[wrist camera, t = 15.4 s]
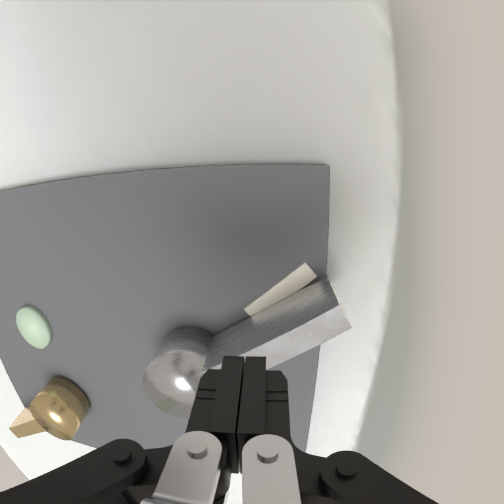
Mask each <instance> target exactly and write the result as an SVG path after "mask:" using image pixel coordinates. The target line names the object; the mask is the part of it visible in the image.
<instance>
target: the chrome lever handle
mask: <svg viewBox="0 0 504 504" xmlns="http://www.w3.org/2000/svg"><path fill="white" fill-rule="evenodd" d="M350 328H352V327H351V325H350V322H349V320H348V317H347V315H346V313H345V310H344V308H343V306H342V303H341V301H340V298H339V296H338V294H337V292H336V291H335V289H334V287H333V285H332V283H331V282H330V280H329V278H328V276H325V277H323V278H322V279H320V280H318V281H316V282H314V283H313V284H311V285H309V286H307V287H305V288H304V289H302V290H300V291H298V292H296V293H294V294H293V295H291V296H289V297H287V298H285V299H283V300H281V301H280V302H278V303H276V304H274V305H272V306H270V307H268V308H266V309H264V310H263V311H261V312H259V313H257V314H255V315H253V316H251V317H249V318H247V319H245V320H243V321H241V322H239V323H237V324H235V325H233V326H231V327H229V328H227V329H225V330H223V331H221V332H219V333H217V334H215V335H213V336H212V335H211V334H209V333H207V332H205V331H203V330H200V329H196V328H178V329H175V330H173V331H171V332H169V333H168V334H167V335H166V336H165V337H164V338H163V340H162V342H161V344H160V345H159V347H158V349H157V351H156V353H155V355H154V356H153V358H152V360H151V362H150V364H149V366H148V368H147V370H146V371H145V373H144V375H143V378H142V386H143V390H144V392H145V394H146V396H147V398H148V399H149V400H150V401H151V402H152V403H153V404H154V405H155V406H156V407H157V408H159V409H160V410H162V411H163V412H165V413H167V414H169V415H172V416H175V417H178V418H183V419H189V417H190V414H191V410H192V406H193V403H194V399H195V395H196V392H197V388H198V385H199V381H200V378H201V377H202V376H203V374H204V373H205V372H206V371H207V370H208V369H221V366H222V361H223V357H224V356H244V357H245V358H246V356H266V370H267V369H269V368H271V367H273V366H276V365H278V364H280V363H282V362H284V361H286V360H289V359H291V358H293V357H295V356H297V355H299V354H301V353H303V352H305V351H307V350H309V349H312V348H314V347H316V346H318V345H320V344H322V343H324V342H325V341H327V340H329V339H331V338H333V337H335V336H337V335H339V334H341V333H343V332H345V331H347V330H348V329H350Z"/></svg>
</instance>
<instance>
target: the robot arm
mask: <svg viewBox="0 0 504 504" xmlns="http://www.w3.org/2000/svg"><path fill="white" fill-rule="evenodd" d="M239 464H240V472H241V474H242V496H243V504H438V503H437V502H435V501H433V500H431V499H430V498H428V497H426V496H425V495H423V494H421V493H420V492H418V491H417V490H415V489H413V488H411V487H410V486H408V485H407V484H405V483H404V482H402V481H400V480H399V479H397V478H396V477H394V476H393V475H391V474H390V473H388V472H387V471H385V470H384V469H382V468H381V467H379V466H378V465H376V464H375V463H373V462H372V461H370V460H369V459H367V458H366V457H365V456H363V455H361V454H360V453H357V452H354V451H339V452H336V453H333V454H331V455H330V456H328V457H327V458H325V457H320V456H315V455H310V454H307V453H305V452H303V451H301V450H300V449H298V448H297V447H296V446H295V445H294V443H293V441H292V439H291V434H290V415H289V397H288V381H287V379H286V377H285V376H284V374H283V373H282V371H281V370H266V356H246V358H245V357H244V356H224V357H223V361H222V366H221V369H208V370H207V371H206V372H205V373H204V374H203V376H202V377H201V378H200V381H199V385H198V388H197V392H196V395H195V399H194V403H193V406H192V410H191V414H190V417H189V421H188V425H187V428H186V431H185V434H183V435H181V436H180V437H179V438H178V439H177V440H176V441H175V442H174V444H172V445H170V446H167V447H162V448H153V449H143V447H142V446H141V445H140V444H139V443H137V442H136V441H134V440H131V439H116V440H113V441H111V442H109V443H107V444H105V445H103V446H101V447H99V448H97V449H95V450H93V451H91V452H89V453H88V454H86V455H84V456H82V457H80V458H77V459H75V460H73V461H71V462H69V463H67V464H65V465H63V466H61V467H59V468H57V469H54V470H52V471H50V472H48V473H46V474H43V475H41V476H39V477H37V478H34V479H32V480H30V481H27V482H25V483H23V484H20V485H18V486H15V487H13V488H10V489H8V490H5V491H3V492H0V504H226V502H227V498H228V493H229V486H230V477H231V473H237V474H239Z"/></svg>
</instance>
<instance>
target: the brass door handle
mask: <svg viewBox="0 0 504 504" xmlns="http://www.w3.org/2000/svg"><path fill="white" fill-rule="evenodd" d="M89 410H90V404H89V401H88V399H87V398H86V396H85V395H84V393H83V392H82V391H81V390H80V389H79V388H78V387H77V386H75V385H74V384H73V383H71V382H70V381H68V380H66V379H64V378H61V377H52V378H51V379H50V380H49V381H48V382H47V384H46V385H45V386H44V387H43V388H42V390H41V391H40V392H39V393H38V395H37V396H36V397H35V398H34V400H33V401H32V402H31V403H30V405H29V407H27V408H24V410H23V411H22V412H21V413H20V415H19V416H18V417H17V418H16V420H15V421H14V422H13V424H12V425H11V426H10V427H9V429H10V430H11V431H12V432H13V433H14V434H15V435H16V436H17V437H18V438H21V437H25V436H29V435H33V434H36V433H40V432H44V431H47V432H49V433H50V434H52V435H53V436H55V437H57V438H59V439H62V440H71V439H72V438H73V436H74V435H75V433H76V431H77V430H78V428H79V427H80V425H81V423H82V422H83V420H84V418H85V417H86V415H87V414H88V412H89Z"/></svg>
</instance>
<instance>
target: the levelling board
mask: <svg viewBox="0 0 504 504" xmlns="http://www.w3.org/2000/svg"><path fill="white" fill-rule="evenodd" d="M329 189H330V166H329V165H316V164H247V165H216V166H196V167H179V168H165V169H153V170H141V171H131V172H121V173H112V174H103V175H95V176H87V177H80V178H73V179H66V180H59V181H53V182H47V183H41V184H35V185H29V186H24V187H18V188H13V189H8V190H3V191H0V358H1V361H2V363H3V365H4V367H5V369H6V372H7V374H8V376H9V378H10V380H11V382H12V384H13V386H14V388H15V390H16V392H17V394H18V396H19V398H20V399H21V401H22V403H23V405H24V407H25V408H27V407H29V405H30V403H31V402H32V401H33V400H34V398H35V397H36V396H37V395H38V393H39V392H40V391H41V390H42V388H43V387H44V386H45V385H46V384H47V382H48V381H49V380H50V379H51V378H52V377H61V378H64V379H66V380H68V381H70V382H71V383H73V384H74V385H75V386H77V387H78V388H79V389H80V390H81V391H82V392H83V393H84V395H85V396H86V398H87V399H88V401H89V404H90V410H89V412H88V414H87V415H86V417H85V418H84V420H83V422H82V423H81V425H80V427H79V428H78V430H77V431H76V433H75V435H74V436H73V438H72V439H71V440H72V441H75V442H78V443H81V444H84V445H88V446H91V447H94V448H99V447H101V446H103V445H105V444H107V443H109V442H111V441H113V440H116V439H131V440H134V441H136V442H137V443H139V444H140V445H141V446H142V447H143V449H153V448H162V447H167V446H170V445H172V444H174V442H175V441H176V440H177V439H178V438H179V437H180V436H181V435H183V434H185V431H186V428H187V425H188V421H189V419H183V418H178V417H175V416H172V415H169V414H167V413H165V412H163V411H162V410H160V409H159V408H157V407H156V406H155V405H154V404H153V403H152V402H151V401H150V400H149V399H148V398H147V396H146V394H145V392H144V390H143V386H142V378H143V375H144V373H145V371H146V370H147V368H148V366H149V364H150V362H151V360H152V358H153V356H154V355H155V353H156V351H157V349H158V347H159V345H160V344H161V342H162V340H163V338H164V337H165V336H166V335H167V334H168V333H169V332H171V331H173V330H175V329H178V328H196V329H200V330H203V331H205V332H207V333H209V334H211V335H212V336H213V335H215V334H217V333H219V332H221V331H223V330H225V329H227V328H229V327H231V326H233V325H235V324H237V323H239V322H241V321H243V320H245V319H247V318H249V317H251V316H253V315H255V314H257V313H259V312H261V311H263V310H264V309H266V308H268V307H270V306H272V305H274V304H276V303H278V302H280V301H281V300H283V299H285V298H287V297H289V296H291V295H293V294H294V293H296V292H298V291H300V290H302V289H304V288H305V287H307V286H309V285H311V284H313V283H314V282H316V281H318V280H320V279H322V278H323V277H325V276H326V266H327V248H328V226H329ZM319 350H320V345H318V346H316V347H314V348H312V349H309V350H307V351H305V352H303V353H301V354H299V355H297V356H295V357H293V358H291V359H289V360H286V361H284V362H282V363H280V364H278V365H276V366H273V367H271V368H269V369H267V370H281V371H282V373H283V374H284V376H285V377H286V379H287V381H288V397H289V415H290V434H291V439H292V441H293V443H294V445H295V446H296V447H297V448H298V449H300V450H301V451H303V452H305V450H306V445H307V439H308V432H309V426H310V420H311V413H312V406H313V399H314V391H315V384H316V376H317V368H318V359H319ZM46 432H47V431H46ZM239 472H240V464H239Z"/></svg>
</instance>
